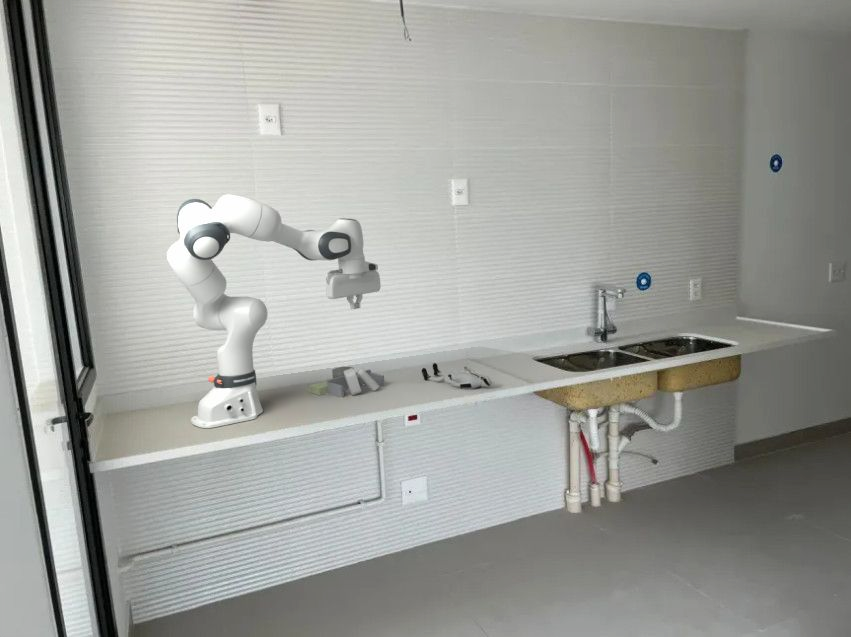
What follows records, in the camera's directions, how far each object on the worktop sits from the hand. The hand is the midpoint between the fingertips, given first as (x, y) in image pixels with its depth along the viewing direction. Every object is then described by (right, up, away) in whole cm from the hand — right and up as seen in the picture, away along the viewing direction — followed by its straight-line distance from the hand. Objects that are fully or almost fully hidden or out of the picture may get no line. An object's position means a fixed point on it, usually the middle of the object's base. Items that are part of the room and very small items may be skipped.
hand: (355, 308), depth 209 cm
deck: (-4, -29, +21) cm, 36 cm away
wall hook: (+1, -30, +15) cm, 34 cm away
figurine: (+36, -28, +19) cm, 49 cm away
